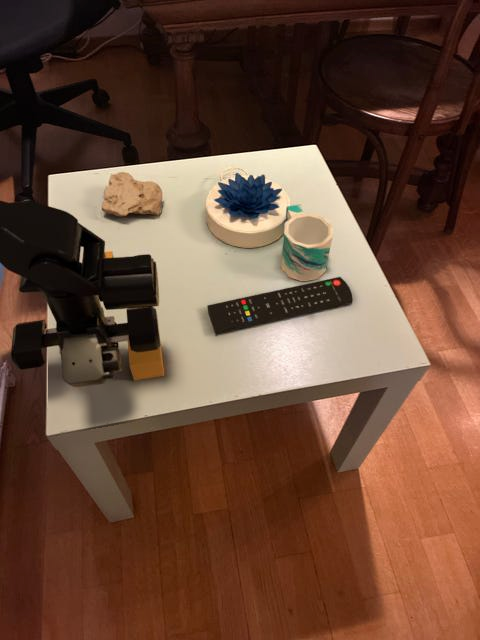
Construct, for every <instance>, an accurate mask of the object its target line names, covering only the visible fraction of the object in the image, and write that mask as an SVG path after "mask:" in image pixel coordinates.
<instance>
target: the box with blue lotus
mask: <svg viewBox="0 0 480 640" xmlns="http://www.w3.org/2000/svg"><path fill="white" fill-rule="evenodd" d="M229 170H239V171H243V172H244V173H245V174H244V175H243V174H241V173H239V172H228V173H226V174H224V172H226V171H229ZM223 174H224V175H223ZM232 175H234V176H232ZM229 176H231V177H229ZM227 177H228V178H227ZM219 178H220V179H219V181H217V183H216V184H215V185H214V186H213V187H212V188H211V189H210V190H209V192H208V193H207V195H206V200H205V214H206V215H205V217H206V225H207V227H208V229H209V231H210V232H211V234H213V235H214V237H216V238H217V239H218V240H220V241H221V242H222V243H225V244H227V245H230V246H233V247H237V248H244V249H254V248H261V247H264V246H268V245H270V244H272V243H274V242H276V241H277V240H279V239H280V238H281V237H282V236H284V227H285V221H286V208H287V206H291V200H290V197H289V195H288V193H287V192H286V191H285V189H284V188H283V187H281V186H280V185H279V183H276V181H273V180H271V179H269V178H266V175H265V174H263V173H262V175H252V174H249V172H248V171H247V170H246V169H245V168H243V167H240V166H230V167H226V168H224V169H222V170H221V171H220V173H219Z"/></svg>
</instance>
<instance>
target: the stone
mask: <svg viewBox="0 0 480 640" xmlns="http://www.w3.org/2000/svg"><path fill="white" fill-rule="evenodd" d="M162 203H163V190H162V188H161V187H160V185H159V184H158V183H157V182H154V181H151V180H150V181H149V180H147V181H141V180H136V179H134V177H133V176H132V174H130V173H129V172H125V171H120V172H117V173H113V174H112V173H111V174H110V176H109V179H108V186H106V187H105V188H104V191H103V202H102V204H101V211H102V212H103V213H106V214H109V215H114V216H116V217H121V218H122V217H126V216H127V215H128V214H139V215H156V216H158V215H161V212H162Z"/></svg>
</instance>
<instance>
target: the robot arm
mask: <svg viewBox="0 0 480 640" xmlns="http://www.w3.org/2000/svg"><path fill="white" fill-rule="evenodd" d="M105 249H106V240H104V239H103V238H102V237H100V236H98V235H97V234H96V233H94V232H93V231H91V230H90V229H88V228H87V227H85V226H84V225H82V224H81V223H80V222H79V220H78V219H77V217H76V216H74V215H73V214H71V213H70V212H68V211H66V210H63V209H61V208H56V207H54V206H49V205H46V204H43V203H39V202H35V201H32V200H30V201H29V200H28V201H15V202H14V201H13V202H11V201H10V202H7V201H3V200H0V264H1V265H2V266H3V267H4V268H5V269H6V270H7V271H9V272H11V273H13V274H16V275H18V276H20V281H19V286H18V292H20V293H25V294H26V293H36V292H37V293H39V292H40V293H42V295H43V297H44V300H45V302H46V304H47V306H48V308H49V310H50V312H51V315H52V316H53V319H54V320H55V323H56V324H55V327H53V328H48V323H47V321H46V319H40V320H33V321H26V322H25V321H24V322H18V323H17V324H15V326H14V327H13V328H12V335H11V336H12V337H11V349H10V356H11V357H10V358H11V361H12V362H13V364H14V366H15V367H16V368H18V369H19V370H21V371H22V370H29V369H35V368H42V367H43V366H44V365H45V364H46V362H47V359H46V357H45V355H44V354H45V348H50V347H58V349H59V351H58V352H59V354H60V363H61V375H62V380H63V382H64V383H65V384H67V385H69V386H71V387H72V388H82V387H88V386H95V385H102V384H105V382H107V380H111V379H115V373H117V372H122V361H121V352H120V346H119V343H121V342H128V341H129V343H130V348H131V351H135V352H138V353H139V352H146V351H152V350H157V349H158V348H159V347H160V346H162V345H161V343H162V342H161V335H160V327H159V320H158V312H157V308H155V307H160V288H159V287H160V286H159V277H158V275H159V274H158V267H157V261H155V260H154V258H153V257H152V255H151V254H150V253H147V254H146V253H145V254H137V255H132V256H119V257H114V258H106V255H105V252H106V251H105ZM81 251H82V260H81ZM102 303H103V307H102ZM104 309H105V310H106V311H113V310H124V309H126V310H125V311H126V322H122V323H117V322H116V321H115V317H114V316H113V315H111V316H105V310H104Z"/></svg>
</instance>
